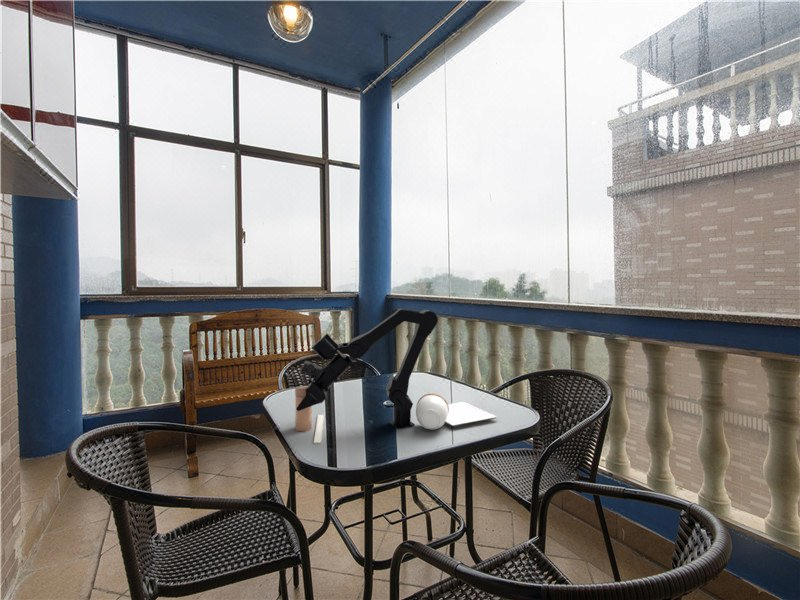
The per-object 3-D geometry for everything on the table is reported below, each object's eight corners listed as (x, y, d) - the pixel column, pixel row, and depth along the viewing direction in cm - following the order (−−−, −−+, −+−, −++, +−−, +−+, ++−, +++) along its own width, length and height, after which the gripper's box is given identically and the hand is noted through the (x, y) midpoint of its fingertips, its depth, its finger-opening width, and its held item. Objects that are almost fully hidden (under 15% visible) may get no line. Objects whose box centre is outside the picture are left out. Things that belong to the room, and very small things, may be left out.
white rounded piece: (438, 397, 121) (440, 386, 130) (407, 410, 123) (411, 398, 133) (453, 428, 122) (454, 414, 131) (422, 440, 124) (425, 426, 133)
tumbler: (313, 430, 125) (313, 389, 124) (297, 432, 122) (297, 391, 122) (309, 424, 129) (309, 385, 129) (293, 427, 127) (293, 387, 127)
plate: (452, 431, 126) (452, 424, 126) (422, 413, 143) (422, 408, 142) (497, 422, 135) (497, 416, 135) (463, 406, 151) (463, 401, 151)
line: (320, 443, 115) (320, 441, 115) (313, 443, 114) (313, 442, 114) (323, 415, 138) (323, 414, 138) (318, 416, 138) (318, 414, 138)
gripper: (317, 347, 135) (284, 380, 133) (314, 358, 116) (275, 396, 115) (340, 370, 136) (307, 403, 135) (341, 383, 118) (303, 422, 117)
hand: (298, 405), depth 125 cm, fingers open, 9 cm apart
